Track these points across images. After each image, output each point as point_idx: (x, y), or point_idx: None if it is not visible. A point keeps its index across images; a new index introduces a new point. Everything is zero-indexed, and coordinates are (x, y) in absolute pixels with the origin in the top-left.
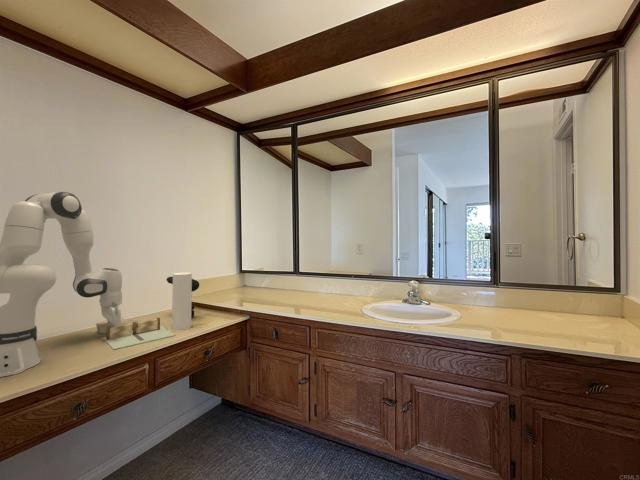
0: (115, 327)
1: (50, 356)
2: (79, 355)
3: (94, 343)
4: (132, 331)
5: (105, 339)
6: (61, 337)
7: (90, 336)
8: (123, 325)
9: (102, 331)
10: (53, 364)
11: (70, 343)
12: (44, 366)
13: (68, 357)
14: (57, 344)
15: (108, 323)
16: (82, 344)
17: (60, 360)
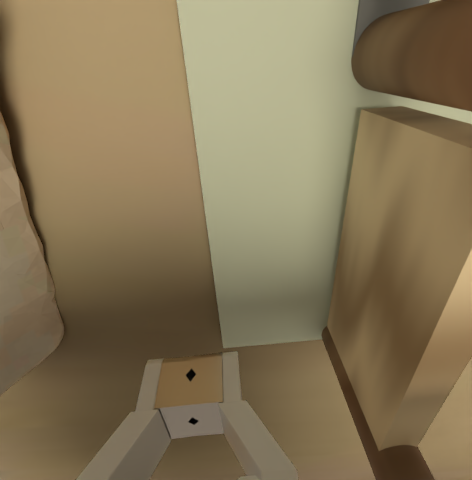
0: (436, 408)
1: (353, 475)
2: (463, 419)
3: (312, 378)
4: (186, 46)
5: (306, 338)
6: (43, 475)
7: (103, 392)
8: (458, 326)
9: (42, 356)
10: (467, 463)
11: (204, 448)
12: (456, 475)
13: (439, 442)
14: (181, 475)
15: (151, 470)
16: (275, 416)
17: (446, 455)
